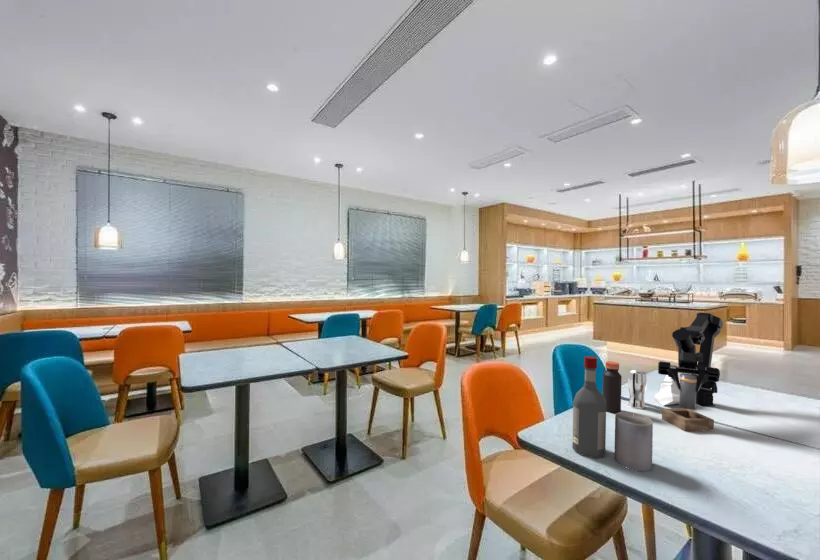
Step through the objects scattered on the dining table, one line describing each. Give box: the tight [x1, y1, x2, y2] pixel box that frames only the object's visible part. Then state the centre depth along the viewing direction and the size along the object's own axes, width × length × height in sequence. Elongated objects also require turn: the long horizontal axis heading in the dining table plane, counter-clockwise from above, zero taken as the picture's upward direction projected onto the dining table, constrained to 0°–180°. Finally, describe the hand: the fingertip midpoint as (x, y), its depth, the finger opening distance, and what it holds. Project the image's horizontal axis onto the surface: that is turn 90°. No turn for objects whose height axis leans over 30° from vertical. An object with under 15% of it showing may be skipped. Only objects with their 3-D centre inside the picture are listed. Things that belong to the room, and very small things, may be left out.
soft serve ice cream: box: [654, 375, 680, 407], centre depth 159 cm, size 12×15×14 cm
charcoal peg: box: [679, 373, 697, 410], centre depth 136 cm, size 5×5×12 cm
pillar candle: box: [613, 411, 654, 472], centre depth 107 cm, size 10×10×15 cm
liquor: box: [571, 355, 607, 459], centre depth 114 cm, size 9×9×30 cm
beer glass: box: [627, 369, 648, 410], centre depth 154 cm, size 7×7×15 cm
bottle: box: [602, 361, 623, 414], centre depth 149 cm, size 7×7×20 cm
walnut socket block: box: [661, 408, 715, 432], centre depth 136 cm, size 11×11×4 cm
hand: (688, 390), depth 134 cm, fingers closed on charcoal peg, 5 cm apart
